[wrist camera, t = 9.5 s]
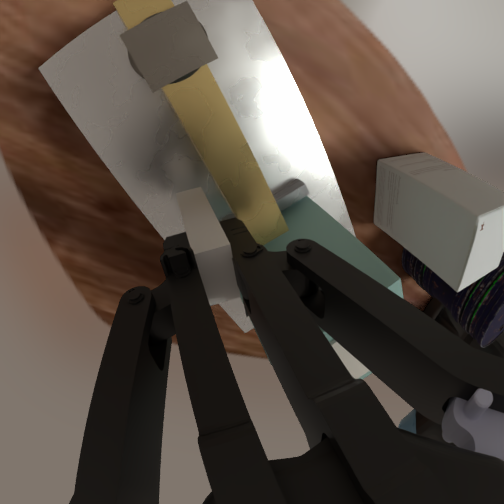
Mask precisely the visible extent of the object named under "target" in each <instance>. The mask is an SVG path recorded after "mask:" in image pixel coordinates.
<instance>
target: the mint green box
mask: <svg viewBox="0 0 504 504" xmlns="http://www.w3.org/2000/svg"><path fill="white" fill-rule="evenodd" d="M281 214H282V216H283V218H284V220H285V222H286V224H287V227H288V229H289V231H287V232H285V233H284V234H282V235H280V236H278V237H277V238H275V239H273V240H272V241H270V242H268V243H267V244H265V245H263V246H264V247H265V248H266V249H267V250H268V251H272V252H278V251H286V247H287V245H288V243H290V242H291V241H293V240H297V239H310V240H313V241H315V242H317V243H318V244H320V245H321V246H323V247H325V248H326V249H328V250H329V251H331V252H333V253H334V254H336V255H337V256H339V257H340V258H342V259H343V260H345V261H347V262H348V263H350V264H351V265H353V266H354V267H356V268H357V269H359V270H360V271H362V272H364V273H365V274H367V275H368V276H370V277H371V278H373V279H374V280H376V281H377V282H379V283H380V284H382V285H383V286H385V287H386V288H388V289H389V290H391V291H392V292H394V293H395V294H397V295H398V296H400V297H401V298H403V292H402V285H401V278H400V277H398V276H397V275H396V274H395V273H394V272H393V271H392V270H391V269H390V268H389V267H388V266H387V265H386V264H385V263H384V262H382V261H381V260H380V259H379V258H378V257H377V256H376V255H375V254H374V253H373V252H372V251H370V250H369V249H368V248H367V247H366V246H365V245H364V244H363V243H362V242H360V241H359V240H358V239H357V238H356V237H355V236H354V235H353V234H351V233H350V232H349V231H348V230H347V229H346V228H344V227H343V226H342V225H341V224H340V223H339V222H338V221H336V220H335V219H334V218H333V217H332V216H331V215H329V214H328V213H327V212H326V211H325V210H323V209H322V208H321V207H320V206H319V205H317V204H316V203H315V202H314V201H313V200H311V199H310V198H309V197H308V196H305V197H304V198H302V199H300V200H299V201H297V202H296V203H294V204H292V205H291V206H289V207H287V208H286V209H284V210H283V211H281ZM239 291H240V290H239ZM240 296H241V297H240V298H241V300H242V302H243V298H242V294H241V292H240ZM243 304H244V303H243ZM249 318H250V317H249ZM250 320H251V319H250ZM251 322H252V321H251ZM252 324H253V323H252ZM319 328H320V327H319ZM254 329H255V328H254ZM320 329H321V331H322V332H323V334H324V335H325V337H326V338H327V340H328V341H329V343H330V344H331V346H332V347H333V349H334V350H335V352H336V353H337V355H338V356H339V358H340V359H341V361H342V362H343V364H344V365H345V367H346V368H347V370H348V371H349V373H350V374H351V376H352V377H353V378H355V379H360V378H361V379H362V380H363V379H364V378H365V377H367V376H369V375H370V374H371V373H372V372H371V371H370V370H369V369H367V368H366V367H365V366H364V365H363V364H362V363H361V362H359V361H358V360H357V359H356V358H355V357H354V356H352V355H351V354H350V353H349V352H348V351H347V350H346V349H344V348H343V347H342V346H341V345H340V344H339V343H338V342H336V341H335V340H334V339H333V338H332V337H331V336H330V335H328V334H327V333H326V332H325V331H324V330H323V329H322V328H320ZM255 331H256V330H255ZM256 333H257V332H256ZM257 335H258V334H257ZM258 337H259V336H258ZM259 339H260V338H259ZM260 342H261V341H260ZM261 344H262V343H261ZM262 346H263V345H262ZM263 348H264V347H263ZM264 350H265V349H264ZM265 352H266V351H265ZM266 355H267V353H266ZM267 357H268V356H267ZM268 359H269V358H268ZM269 361H270V360H269ZM270 363H271V362H270ZM271 365H272V364H271Z"/></svg>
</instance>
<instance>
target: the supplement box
mask: <svg viewBox="0 0 504 504" xmlns="http://www.w3.org/2000/svg"><path fill="white" fill-rule="evenodd" d="M374 224H375V225H376V226H378V227H379V228H380V229H382V230H383V231H384V232H385V233H387V234H388V235H389V236H390V237H392V238H393V239H394V240H396V241H397V242H398V243H399V244H401V245H402V246H403V247H404V248H406V249H407V250H408V251H409V252H411V253H412V254H413V255H414V256H415V257H417V258H418V259H419V260H420V261H422V262H423V263H424V264H425V265H426V266H427V267H429V268H430V269H431V270H432V271H433V272H435V273H436V274H437V275H438V276H439V277H440V278H441V279H443V280H444V281H445V282H446V283H447V284H448V285H450V286H451V287H452V288H453V289H454V290H455V291H456V292H459V291H461V290H462V289H464V288H465V287H467V286H469V285H470V284H472V283H474V282H475V281H477V280H478V279H480V278H482V277H483V276H485V275H486V274H488V273H489V272H491V271H493V270H494V269H496V268H497V267H498V266H499V263H500V260H501V258H502V255H503V252H504V192H503V191H502V190H499V189H498V188H496V187H494V186H493V185H491V184H489V183H487V182H485V181H483V180H481V179H479V178H477V177H475V176H473V175H472V174H470V173H468V172H466V171H464V170H462V169H460V168H457V167H455V166H453V165H451V164H449V163H447V162H445V161H443V160H441V159H438V158H436V157H434V156H432V155H430V154H427V153H425V152H424V153H416V154H409V155H403V156H397V157H390V158H384V159H379V160H378V161H377V177H376V193H375V207H374Z"/></svg>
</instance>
